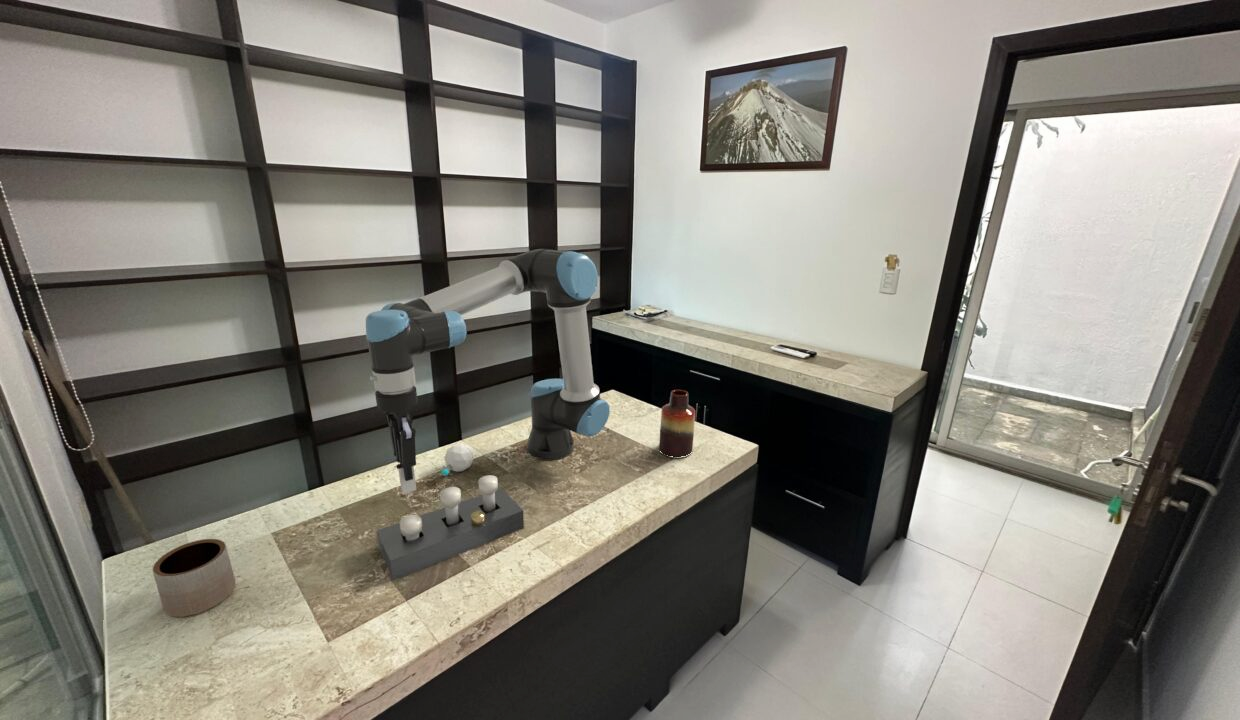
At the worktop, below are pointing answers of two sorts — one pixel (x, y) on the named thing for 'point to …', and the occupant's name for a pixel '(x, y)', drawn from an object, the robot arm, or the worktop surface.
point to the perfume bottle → (457, 459)
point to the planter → (194, 577)
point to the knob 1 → (411, 527)
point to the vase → (677, 425)
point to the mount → (448, 535)
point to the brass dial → (477, 518)
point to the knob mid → (451, 504)
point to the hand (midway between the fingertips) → (408, 490)
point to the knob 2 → (488, 491)
